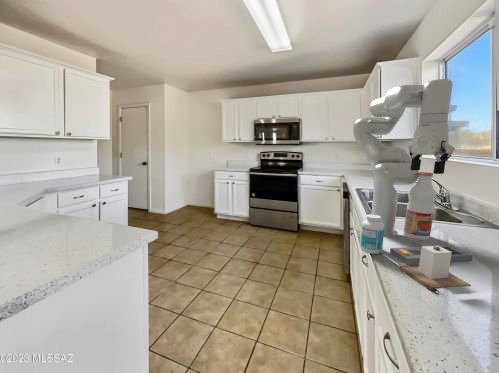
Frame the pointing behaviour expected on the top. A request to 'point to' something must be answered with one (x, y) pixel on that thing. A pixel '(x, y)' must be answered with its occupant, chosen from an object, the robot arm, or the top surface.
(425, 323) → the top surface
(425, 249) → the block
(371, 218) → the pill bottle
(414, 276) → the walnut mat
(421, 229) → the fruit juice
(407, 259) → the power strip
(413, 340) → the top surface
